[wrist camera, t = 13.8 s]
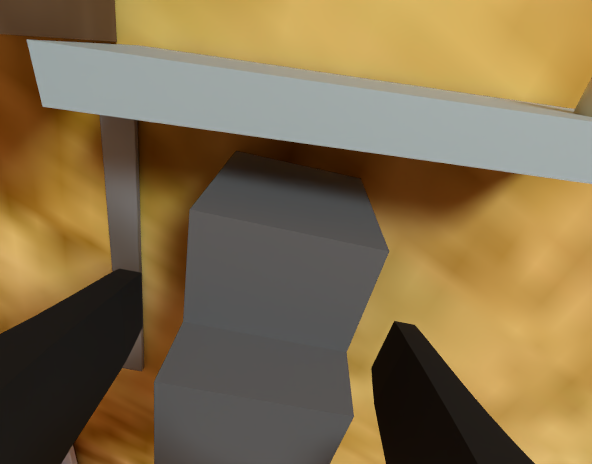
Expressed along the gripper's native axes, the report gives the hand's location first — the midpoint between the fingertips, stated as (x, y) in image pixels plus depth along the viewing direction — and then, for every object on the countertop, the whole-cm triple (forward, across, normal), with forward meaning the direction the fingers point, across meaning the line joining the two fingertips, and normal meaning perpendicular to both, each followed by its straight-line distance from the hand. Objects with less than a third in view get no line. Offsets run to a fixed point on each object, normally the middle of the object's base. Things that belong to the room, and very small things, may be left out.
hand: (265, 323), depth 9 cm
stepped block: (+3, 0, 0) cm, 3 cm away
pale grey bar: (+3, -1, -7) cm, 7 cm away
